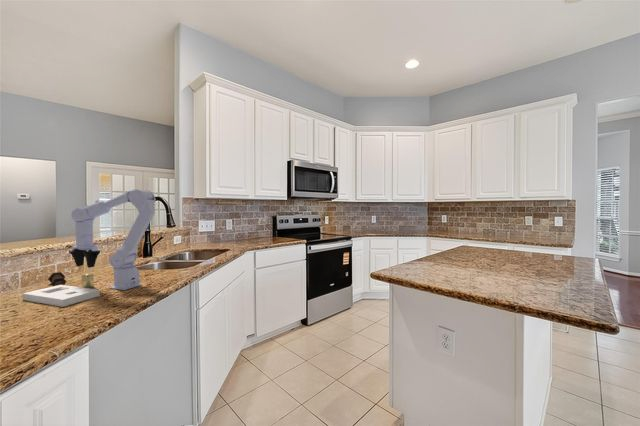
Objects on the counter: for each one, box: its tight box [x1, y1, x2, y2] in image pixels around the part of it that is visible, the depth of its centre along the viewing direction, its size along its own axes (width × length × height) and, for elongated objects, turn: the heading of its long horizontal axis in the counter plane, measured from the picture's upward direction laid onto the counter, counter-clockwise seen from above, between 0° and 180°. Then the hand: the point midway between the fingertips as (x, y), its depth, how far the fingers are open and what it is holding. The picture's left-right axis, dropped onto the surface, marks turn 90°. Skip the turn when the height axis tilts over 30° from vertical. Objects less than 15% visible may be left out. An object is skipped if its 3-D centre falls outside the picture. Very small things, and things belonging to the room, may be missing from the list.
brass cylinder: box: [81, 272, 95, 289], centre depth 119 cm, size 4×4×6 cm
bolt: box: [48, 271, 67, 287], centre depth 123 cm, size 6×5×15 cm
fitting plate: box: [22, 284, 101, 307], centre depth 106 cm, size 24×12×3 cm, turn 71°
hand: (85, 266), depth 118 cm, fingers open, 7 cm apart
